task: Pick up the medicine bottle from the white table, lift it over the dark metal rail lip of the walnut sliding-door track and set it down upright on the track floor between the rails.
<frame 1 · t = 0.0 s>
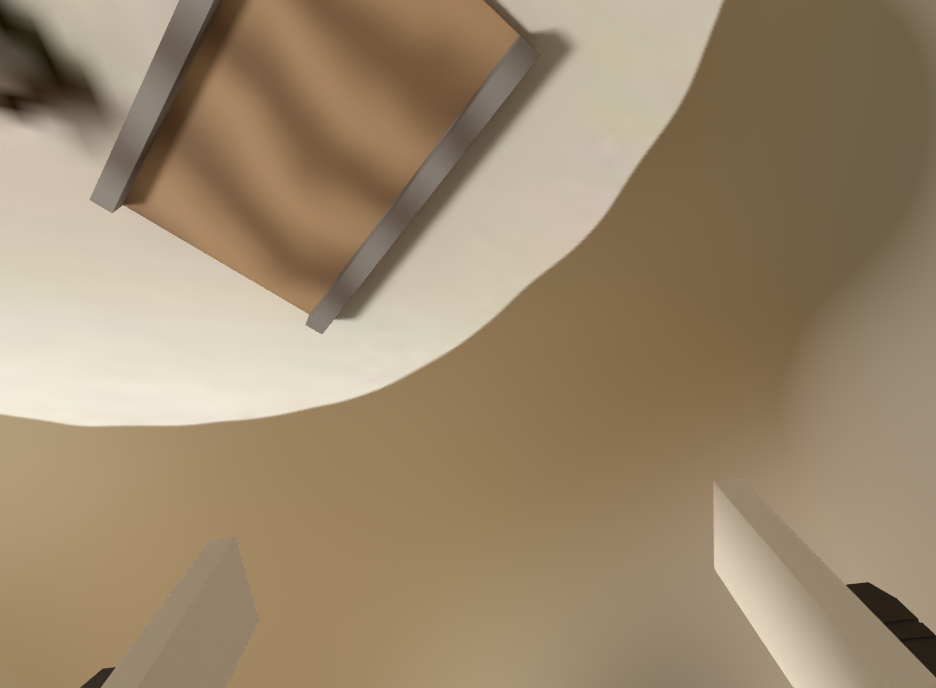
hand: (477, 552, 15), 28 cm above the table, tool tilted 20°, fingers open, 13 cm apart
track: (310, 123, 35), on the table
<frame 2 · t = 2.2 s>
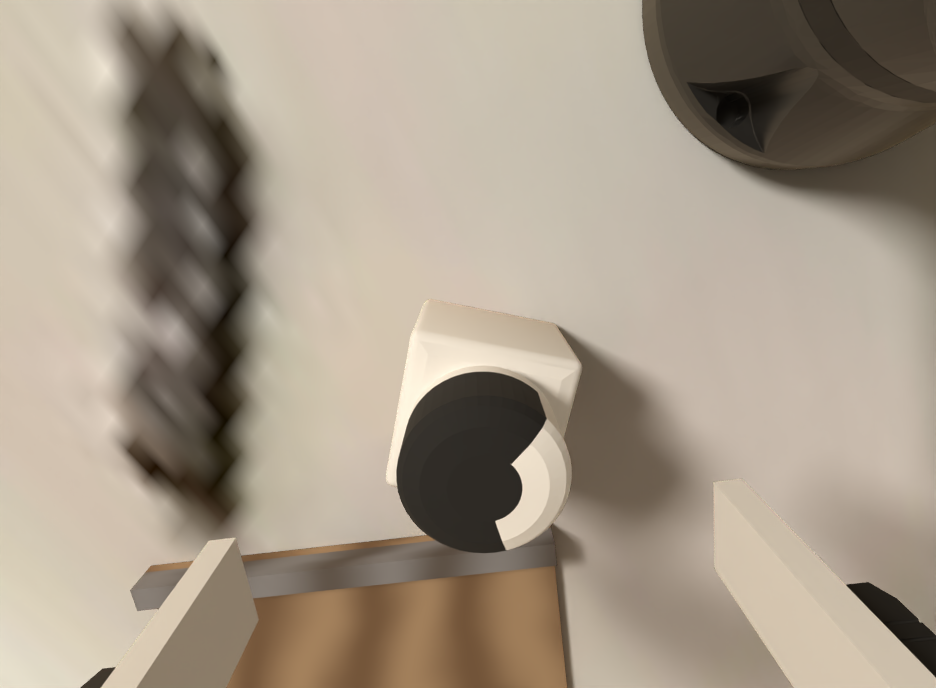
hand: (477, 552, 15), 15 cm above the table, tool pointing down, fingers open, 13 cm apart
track: (372, 657, 35), on the table
medicine bottle: (478, 371, 30), on the table
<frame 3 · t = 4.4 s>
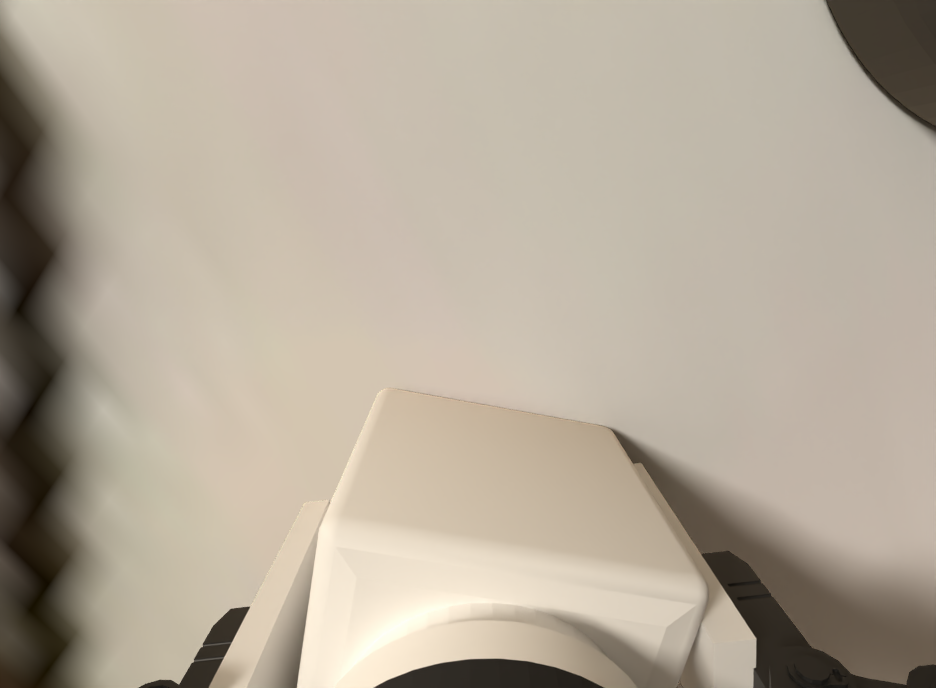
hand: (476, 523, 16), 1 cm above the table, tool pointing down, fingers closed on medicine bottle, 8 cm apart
medicine bottle: (475, 504, 17), on the table, touching gripper
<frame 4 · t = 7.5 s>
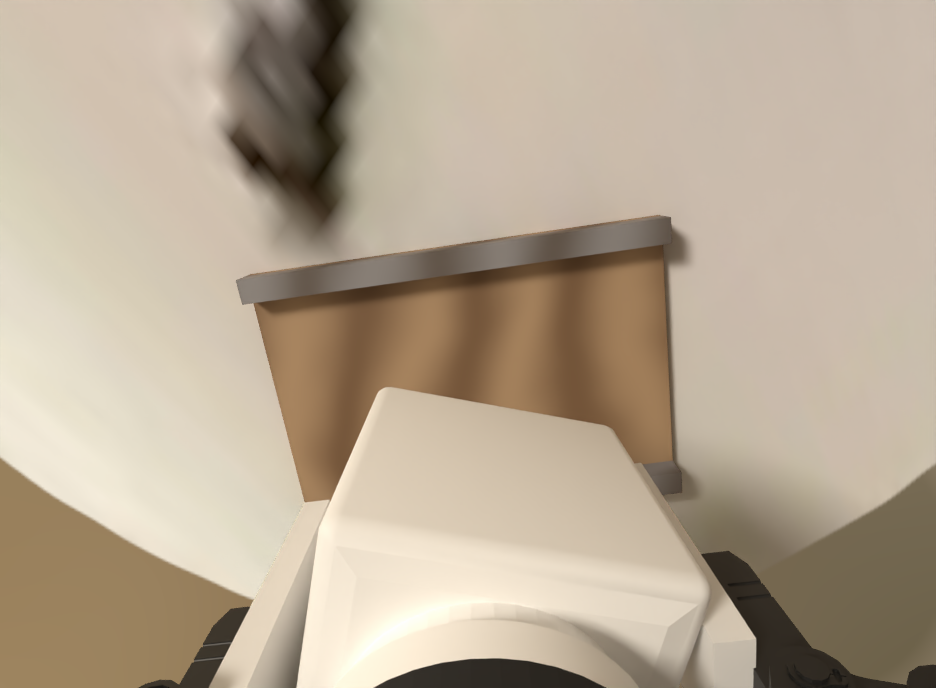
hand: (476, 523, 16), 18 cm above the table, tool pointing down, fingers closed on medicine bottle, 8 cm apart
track: (471, 379, 34), on the table
medicine bottle: (475, 503, 17), point 17 cm above the table, touching gripper
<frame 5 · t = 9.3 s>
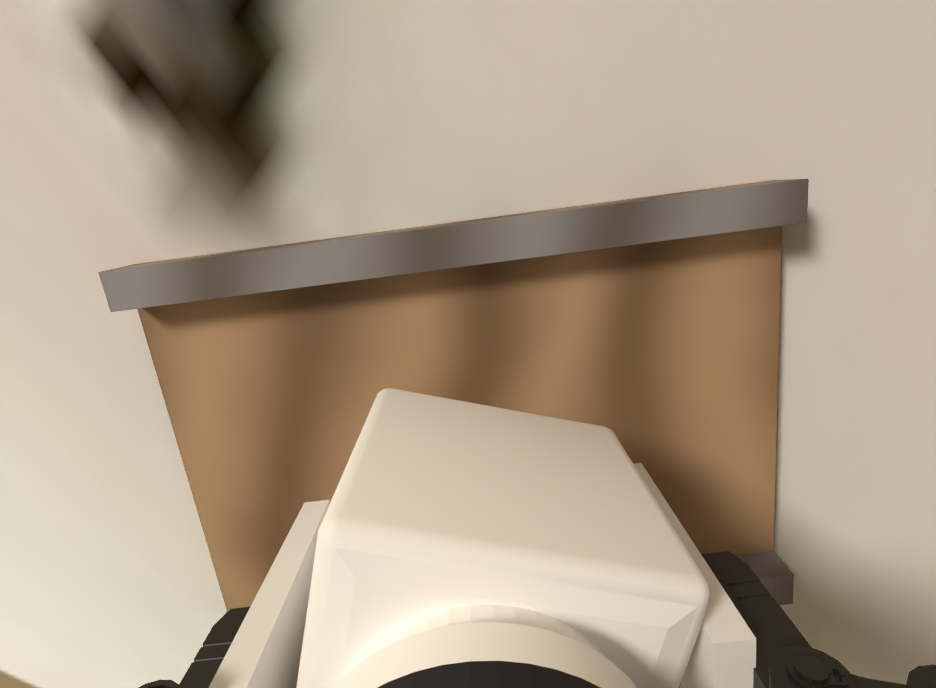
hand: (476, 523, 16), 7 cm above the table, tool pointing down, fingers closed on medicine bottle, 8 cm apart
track: (475, 429, 23), on the table
medicine bottle: (475, 504, 17), point 6 cm above the table, touching gripper
when the fingers open (3 cm above the table, at t = 10.9 s): medicine bottle drops 1 cm, resting on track.
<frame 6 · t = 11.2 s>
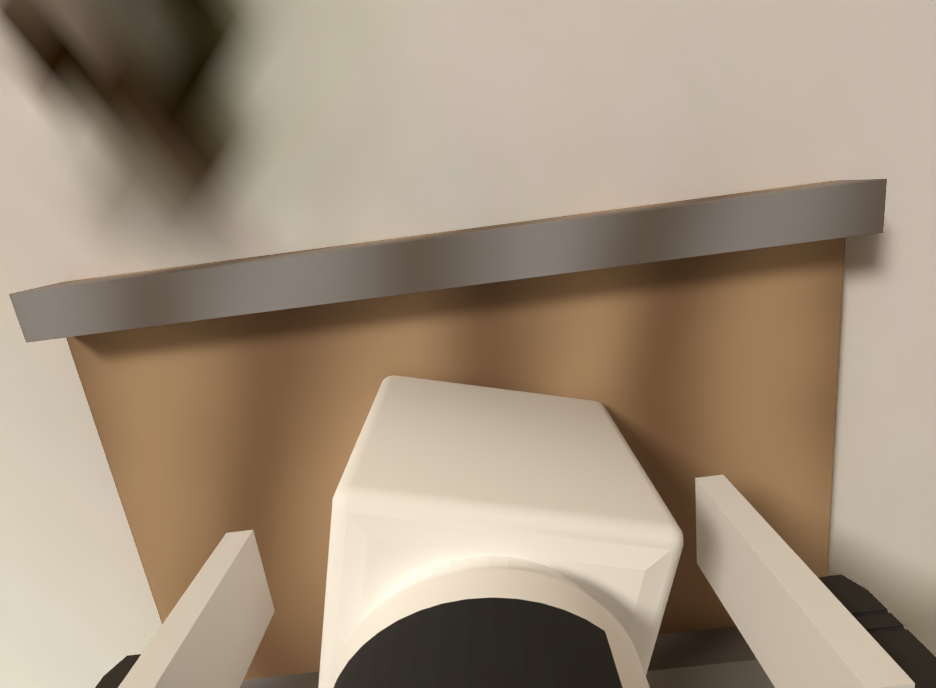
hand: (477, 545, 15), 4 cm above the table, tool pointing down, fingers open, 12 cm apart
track: (475, 475, 19), on the table
medicine bottle: (479, 480, 19), resting on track
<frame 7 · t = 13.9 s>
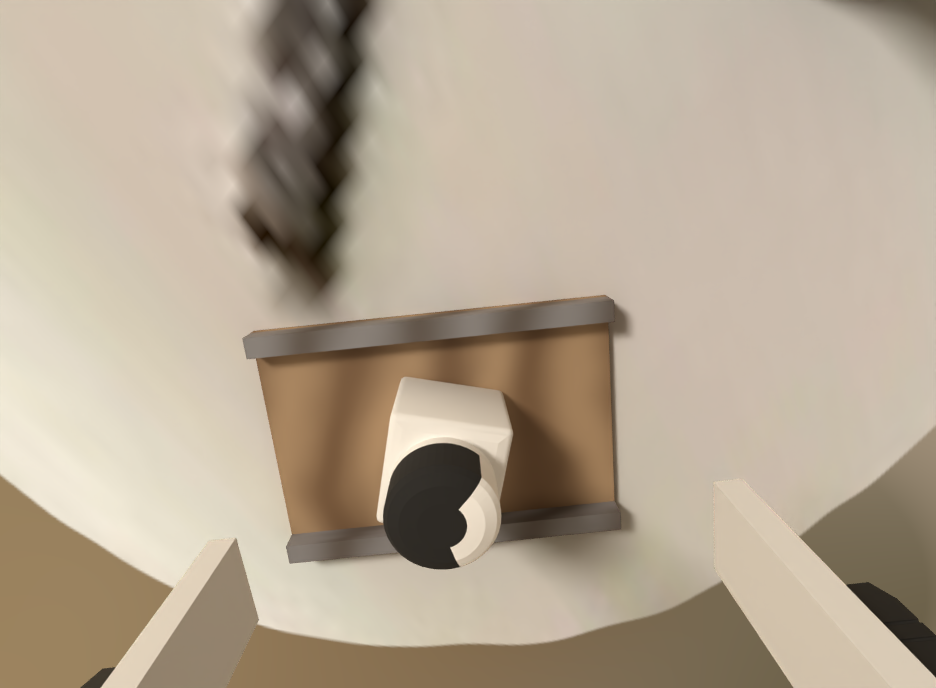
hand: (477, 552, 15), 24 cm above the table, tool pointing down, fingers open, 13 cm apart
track: (443, 427, 39), on the table
medicine bottle: (445, 428, 39), resting on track
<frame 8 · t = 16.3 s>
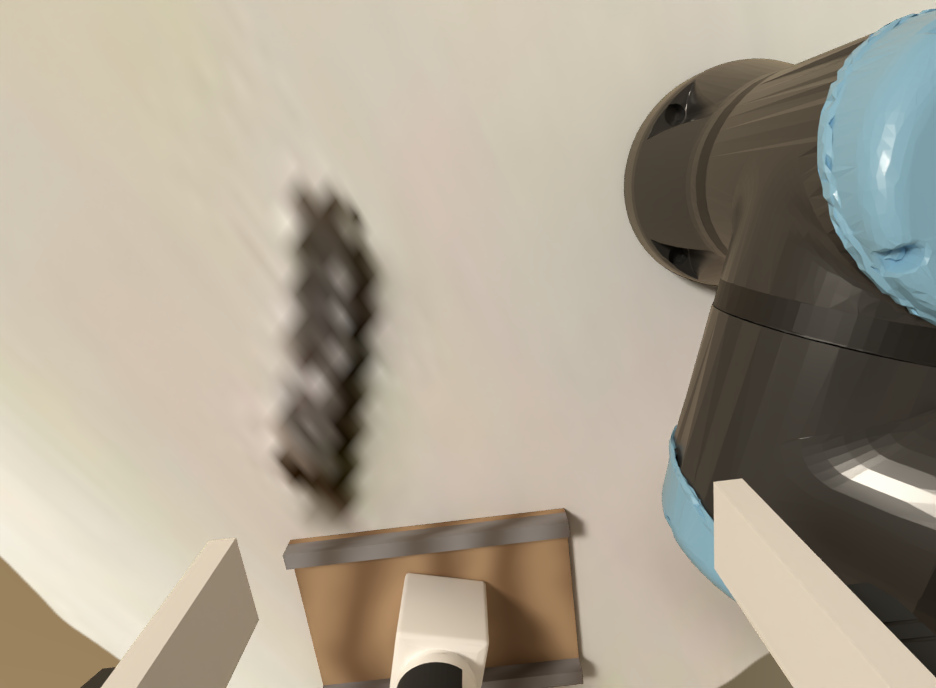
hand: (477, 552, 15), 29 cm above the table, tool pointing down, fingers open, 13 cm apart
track: (439, 604, 50), on the table
medicine bottle: (441, 607, 49), resting on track
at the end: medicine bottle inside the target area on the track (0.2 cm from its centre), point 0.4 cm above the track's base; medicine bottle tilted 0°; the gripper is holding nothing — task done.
